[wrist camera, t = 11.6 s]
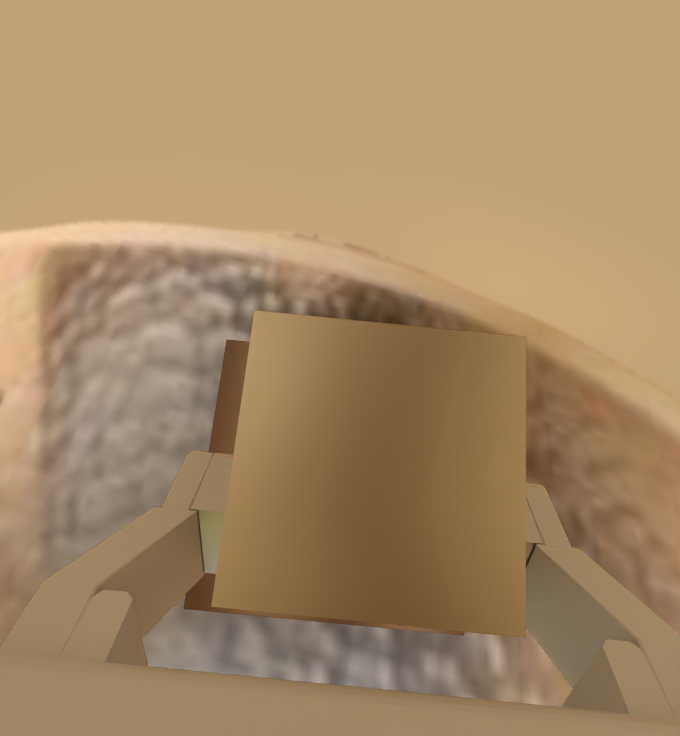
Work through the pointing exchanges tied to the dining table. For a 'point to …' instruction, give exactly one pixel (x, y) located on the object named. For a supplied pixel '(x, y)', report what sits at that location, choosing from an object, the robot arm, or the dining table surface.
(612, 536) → the dining table surface
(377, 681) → the dining table surface
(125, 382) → the dining table surface
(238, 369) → the walnut base block
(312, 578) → the maple block
